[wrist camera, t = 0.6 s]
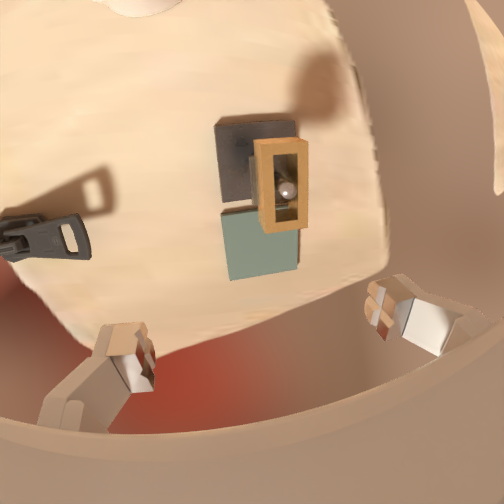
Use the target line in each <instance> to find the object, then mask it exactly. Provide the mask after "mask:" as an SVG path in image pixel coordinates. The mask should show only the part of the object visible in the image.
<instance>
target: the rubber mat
mask: <svg viewBox="0 0 504 504" xmlns="http://www.w3.org/2000/svg"><path fill="white" fill-rule="evenodd" d="M286 208H288V205H283V206H275V210H278V209H286ZM221 221H222V229H223V236H224V244H225V251H226V258H227V265H228V272H229V279H230V281H232V280H238V279H244V278H250V277H256V276H261V275H267V274H273V273H278V272H284V271H289V270H295V269H297V257H298V229H296V230H289V231H282V232H276V233H269V234H265V232H264V230H263V228H262V226H261V224H260V222H259V216H258V209H252V210H245V211H238V212H231V213H225V214H221Z"/></svg>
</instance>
